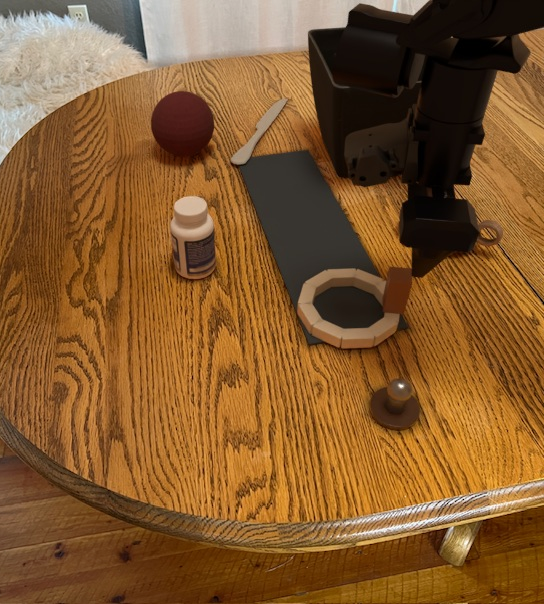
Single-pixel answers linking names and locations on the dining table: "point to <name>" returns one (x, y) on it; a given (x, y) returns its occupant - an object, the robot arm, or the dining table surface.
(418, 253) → the robot arm
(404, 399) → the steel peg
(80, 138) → the dining table surface
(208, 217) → the pill bottle
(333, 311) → the rubber mat
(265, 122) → the butter knife
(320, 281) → the ivory ring
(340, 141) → the flower pot
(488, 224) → the oil lamp
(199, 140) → the decorative ball
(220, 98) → the dining table surface
